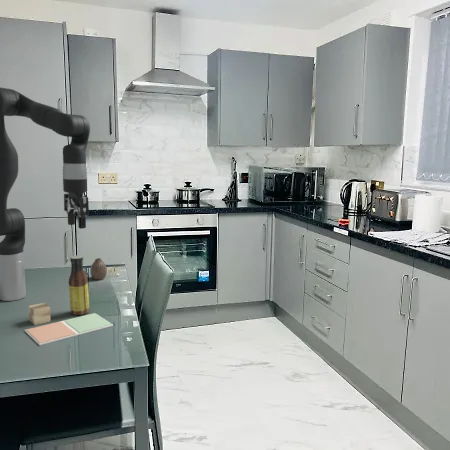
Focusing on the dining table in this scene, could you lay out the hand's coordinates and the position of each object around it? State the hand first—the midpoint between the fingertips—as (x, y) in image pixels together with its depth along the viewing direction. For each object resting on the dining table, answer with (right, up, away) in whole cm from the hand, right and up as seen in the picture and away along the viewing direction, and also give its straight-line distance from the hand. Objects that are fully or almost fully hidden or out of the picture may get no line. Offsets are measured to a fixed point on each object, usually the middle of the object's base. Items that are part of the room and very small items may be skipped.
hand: (76, 226), depth 148 cm
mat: (+1, -32, -8) cm, 33 cm away
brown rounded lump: (-5, -23, +45) cm, 50 cm away
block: (-11, -31, -3) cm, 33 cm away
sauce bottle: (-1, -30, +5) cm, 30 cm away
